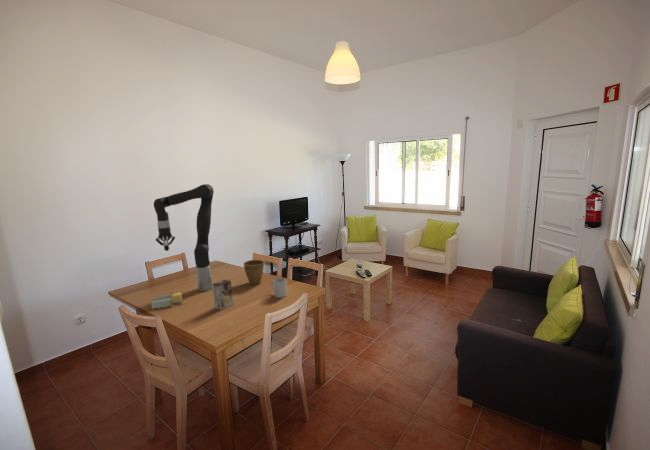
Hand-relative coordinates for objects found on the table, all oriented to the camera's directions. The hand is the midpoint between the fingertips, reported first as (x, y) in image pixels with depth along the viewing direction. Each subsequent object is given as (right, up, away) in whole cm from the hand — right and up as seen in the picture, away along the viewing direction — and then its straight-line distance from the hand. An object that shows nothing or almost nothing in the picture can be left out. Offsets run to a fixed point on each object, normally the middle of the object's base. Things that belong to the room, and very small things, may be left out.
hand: (166, 250), depth 223 cm
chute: (+10, -33, -19) cm, 39 cm away
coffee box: (+48, -33, -24) cm, 63 cm away
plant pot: (+59, -26, +14) cm, 66 cm away
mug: (+80, -30, -8) cm, 86 cm away
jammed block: (+16, -33, -17) cm, 40 cm away
